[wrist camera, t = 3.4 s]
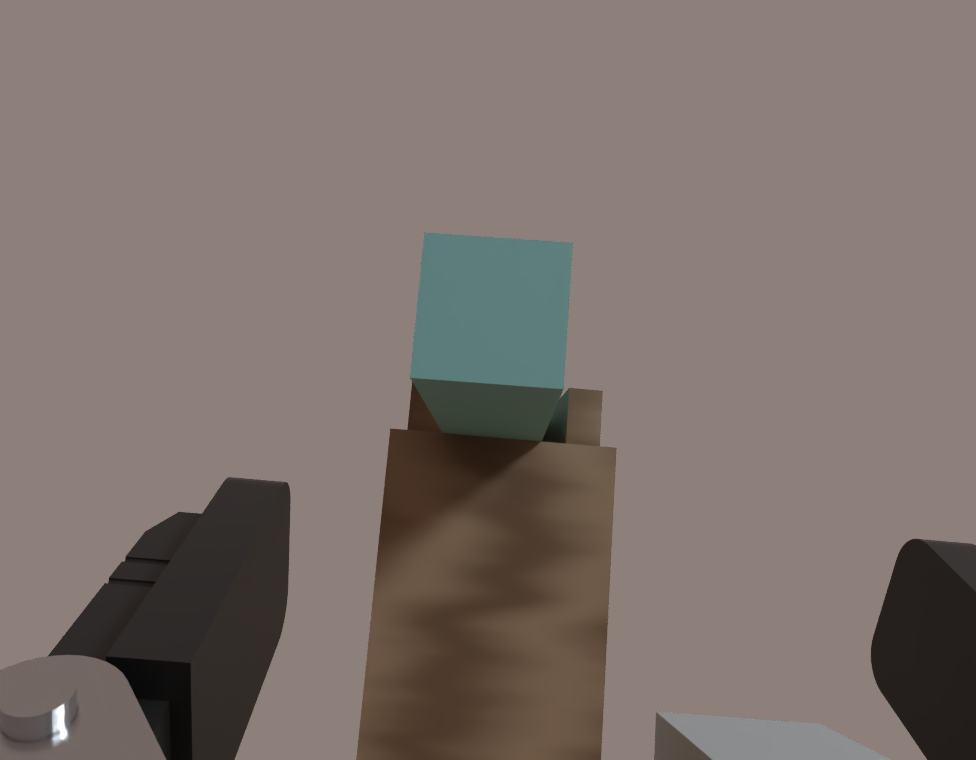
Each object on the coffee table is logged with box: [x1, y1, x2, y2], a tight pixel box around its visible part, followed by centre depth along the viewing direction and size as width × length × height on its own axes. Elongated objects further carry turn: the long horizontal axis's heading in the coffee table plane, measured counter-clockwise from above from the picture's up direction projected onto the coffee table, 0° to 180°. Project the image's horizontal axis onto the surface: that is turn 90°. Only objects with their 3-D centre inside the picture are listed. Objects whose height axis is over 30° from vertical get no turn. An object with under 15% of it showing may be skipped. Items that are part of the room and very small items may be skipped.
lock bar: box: [410, 233, 573, 441], centre depth 32 cm, size 4×26×4 cm, turn 179°
